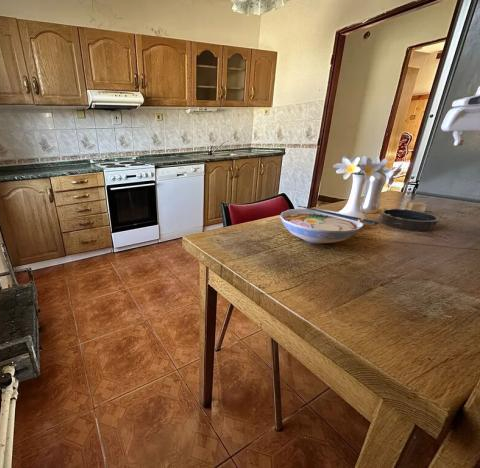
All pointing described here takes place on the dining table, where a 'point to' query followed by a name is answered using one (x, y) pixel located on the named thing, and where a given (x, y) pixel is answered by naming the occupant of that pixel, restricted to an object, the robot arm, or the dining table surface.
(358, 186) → the flower vase
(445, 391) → the dining table surface
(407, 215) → the pan
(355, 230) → the ramen bowl
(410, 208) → the block
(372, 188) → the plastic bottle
